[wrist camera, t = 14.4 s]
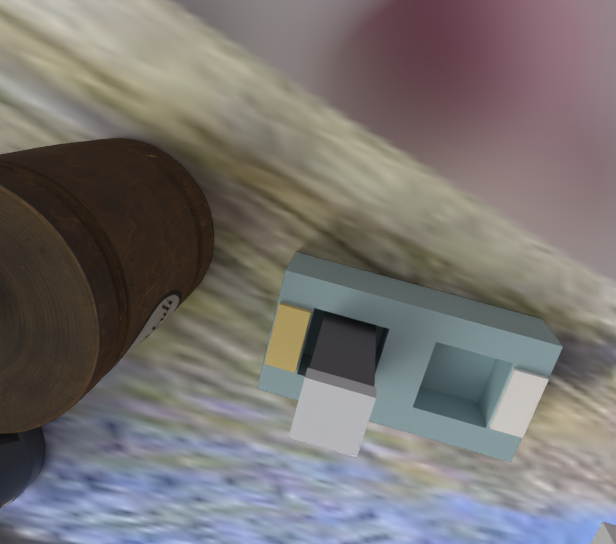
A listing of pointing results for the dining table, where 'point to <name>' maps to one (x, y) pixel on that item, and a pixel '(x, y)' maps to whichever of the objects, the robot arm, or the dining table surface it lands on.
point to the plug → (338, 386)
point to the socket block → (419, 354)
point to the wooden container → (89, 265)
